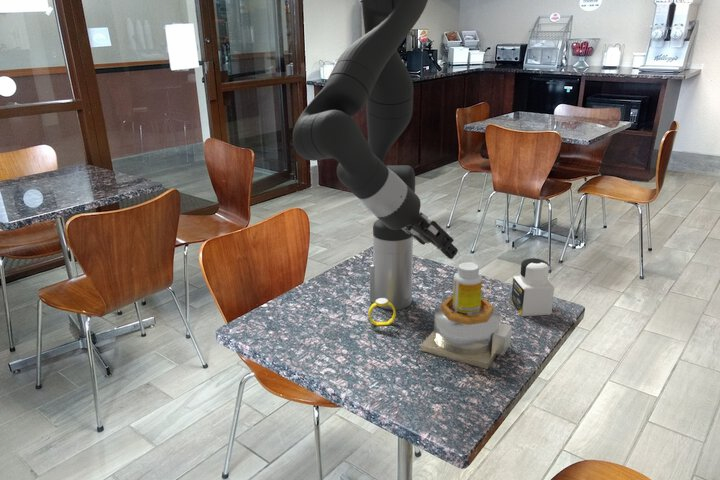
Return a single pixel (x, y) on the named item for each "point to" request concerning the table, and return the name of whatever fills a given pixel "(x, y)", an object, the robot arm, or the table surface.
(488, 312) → the octagonal rim cylinder base
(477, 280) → the supplement bottle
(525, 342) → the table surface
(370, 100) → the robot arm
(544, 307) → the medicine bottle
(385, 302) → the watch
